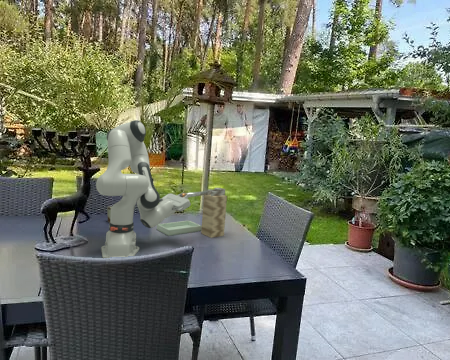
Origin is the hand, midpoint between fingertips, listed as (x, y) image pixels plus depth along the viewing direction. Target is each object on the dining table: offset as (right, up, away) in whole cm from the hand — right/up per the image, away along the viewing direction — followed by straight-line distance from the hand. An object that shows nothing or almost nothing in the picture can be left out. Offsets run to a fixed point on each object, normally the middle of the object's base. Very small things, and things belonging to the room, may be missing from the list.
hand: (186, 194), depth 209 cm
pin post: (+14, -26, +17) cm, 34 cm away
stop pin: (+4, -1, +4) cm, 6 cm away
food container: (-48, -20, +26) cm, 58 cm away
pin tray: (-7, -23, +20) cm, 32 cm away
